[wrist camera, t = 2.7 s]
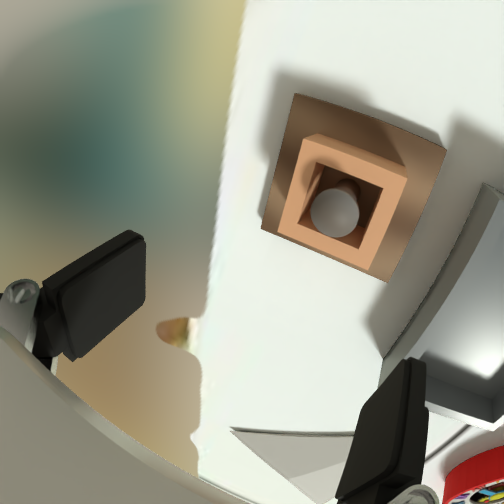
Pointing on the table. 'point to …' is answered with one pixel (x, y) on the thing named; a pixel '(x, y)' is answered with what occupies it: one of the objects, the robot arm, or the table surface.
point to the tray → (463, 323)
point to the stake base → (355, 178)
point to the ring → (356, 164)
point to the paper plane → (303, 459)
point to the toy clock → (477, 480)
